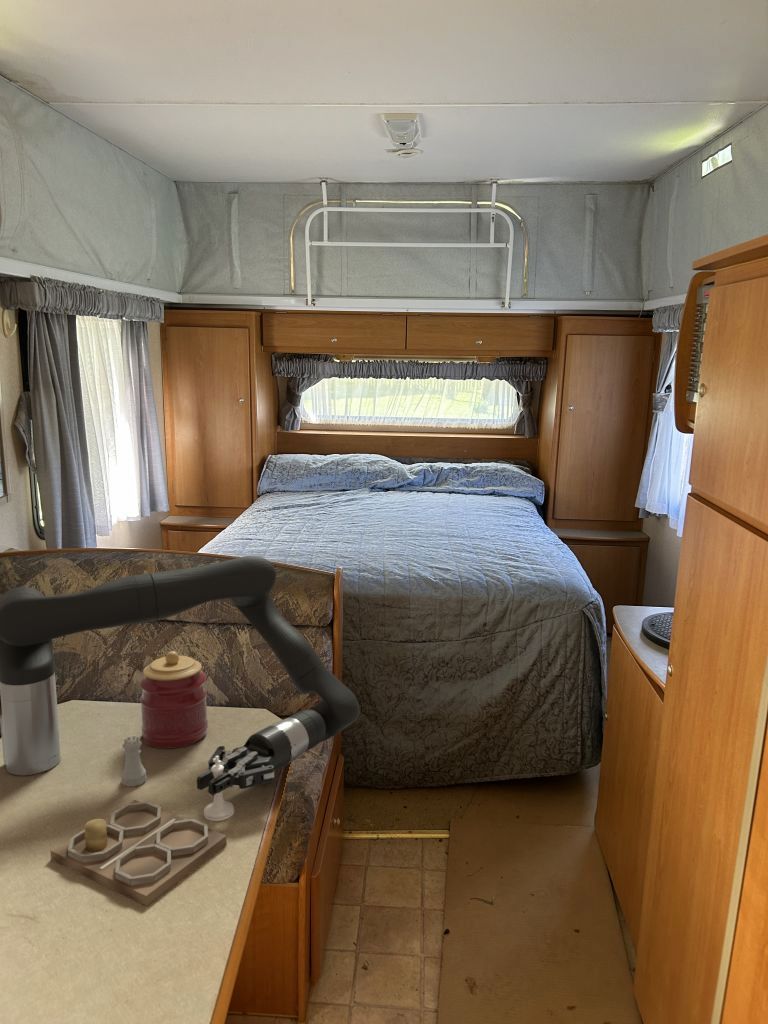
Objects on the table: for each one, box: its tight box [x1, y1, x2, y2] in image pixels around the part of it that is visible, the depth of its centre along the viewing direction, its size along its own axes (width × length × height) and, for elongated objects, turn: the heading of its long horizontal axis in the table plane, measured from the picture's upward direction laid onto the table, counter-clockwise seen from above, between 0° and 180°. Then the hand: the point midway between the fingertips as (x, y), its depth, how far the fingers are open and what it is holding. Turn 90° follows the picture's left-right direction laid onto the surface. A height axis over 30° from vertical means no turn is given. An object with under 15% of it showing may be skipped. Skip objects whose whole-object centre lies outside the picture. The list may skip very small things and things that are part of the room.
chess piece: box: [203, 756, 235, 822], centre depth 122 cm, size 5×5×10 cm
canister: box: [139, 650, 209, 749], centre depth 149 cm, size 13×13×18 cm
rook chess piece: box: [120, 735, 148, 788], centre depth 132 cm, size 4×4×8 cm
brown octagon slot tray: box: [49, 799, 228, 907], centre depth 112 cm, size 20×16×5 cm
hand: (204, 786), depth 119 cm, fingers closed on chess piece
